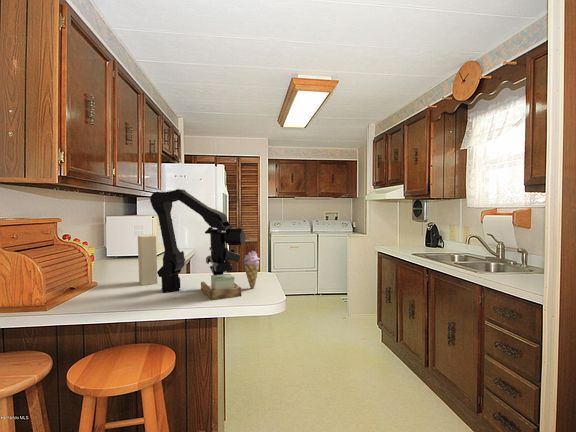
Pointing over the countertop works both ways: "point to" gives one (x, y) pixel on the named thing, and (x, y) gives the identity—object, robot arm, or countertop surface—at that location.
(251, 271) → the ice cream cone
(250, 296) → the countertop surface
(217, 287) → the pale green block
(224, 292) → the bay
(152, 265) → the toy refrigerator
